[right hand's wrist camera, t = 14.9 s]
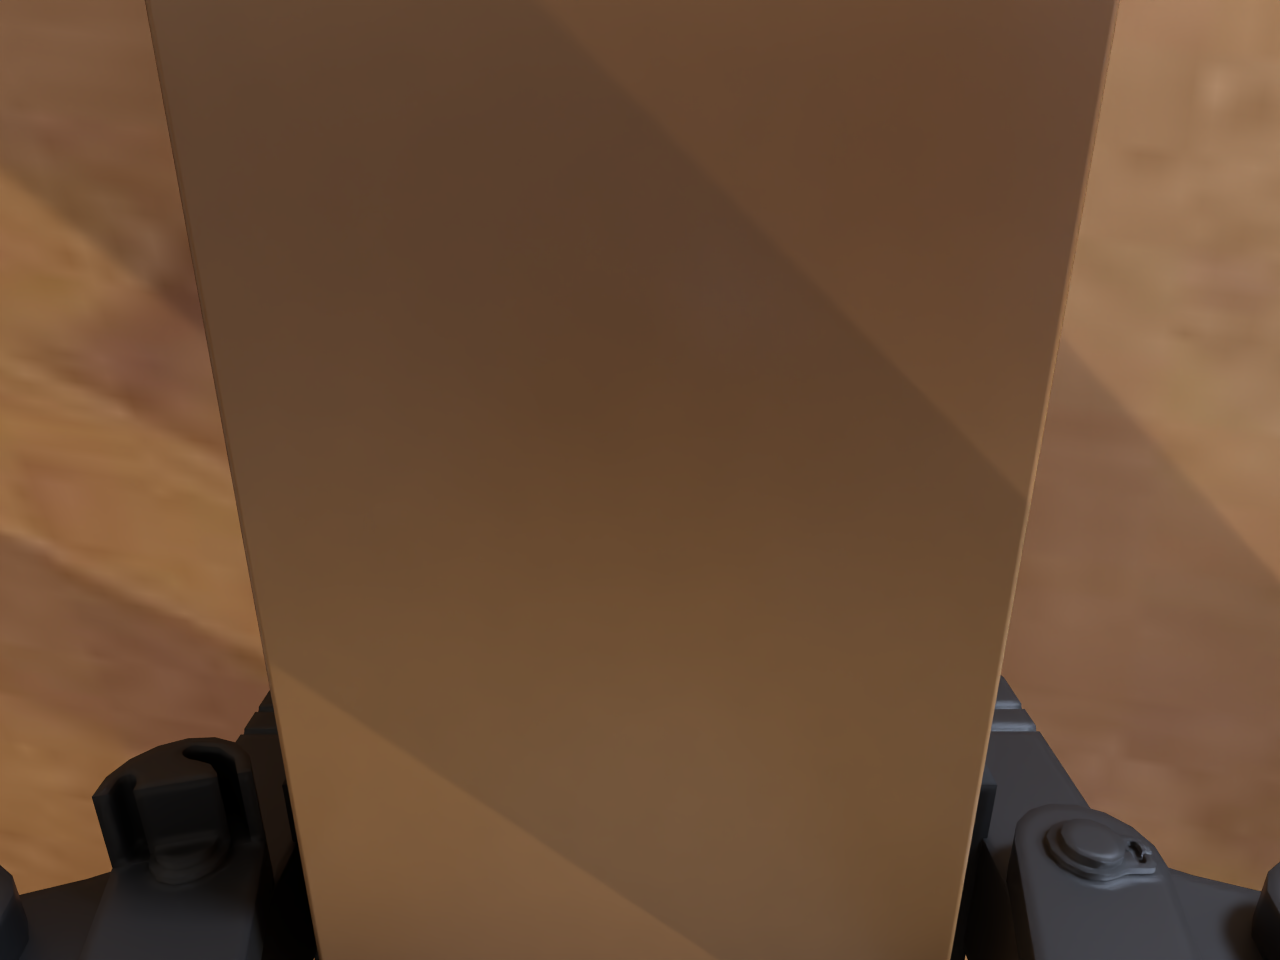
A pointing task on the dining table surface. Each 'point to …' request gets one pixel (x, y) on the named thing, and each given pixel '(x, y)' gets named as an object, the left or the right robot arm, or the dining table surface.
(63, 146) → the dining table surface
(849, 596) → the post
